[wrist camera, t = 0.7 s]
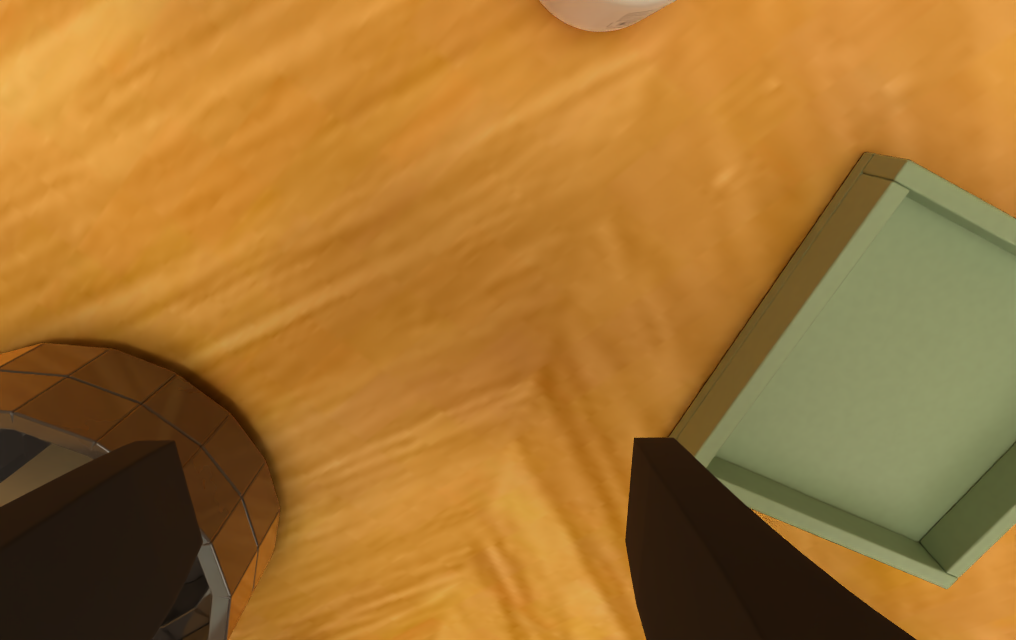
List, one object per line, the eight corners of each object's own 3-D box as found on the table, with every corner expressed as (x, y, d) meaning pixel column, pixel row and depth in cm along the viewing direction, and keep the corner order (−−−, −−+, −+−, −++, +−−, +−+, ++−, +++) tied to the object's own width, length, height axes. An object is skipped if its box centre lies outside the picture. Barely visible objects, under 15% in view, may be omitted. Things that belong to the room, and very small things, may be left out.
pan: (239, 639, 24) (182, 753, 20) (-65, 543, 22) (-198, 647, 18) (328, 420, 20) (279, 507, 16) (-38, 279, 18) (-203, 335, 14)
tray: (910, 548, 22) (947, 590, 20) (663, 443, 20) (678, 479, 18) (1146, 305, 18) (1218, 330, 16) (864, 151, 16) (909, 158, 14)
